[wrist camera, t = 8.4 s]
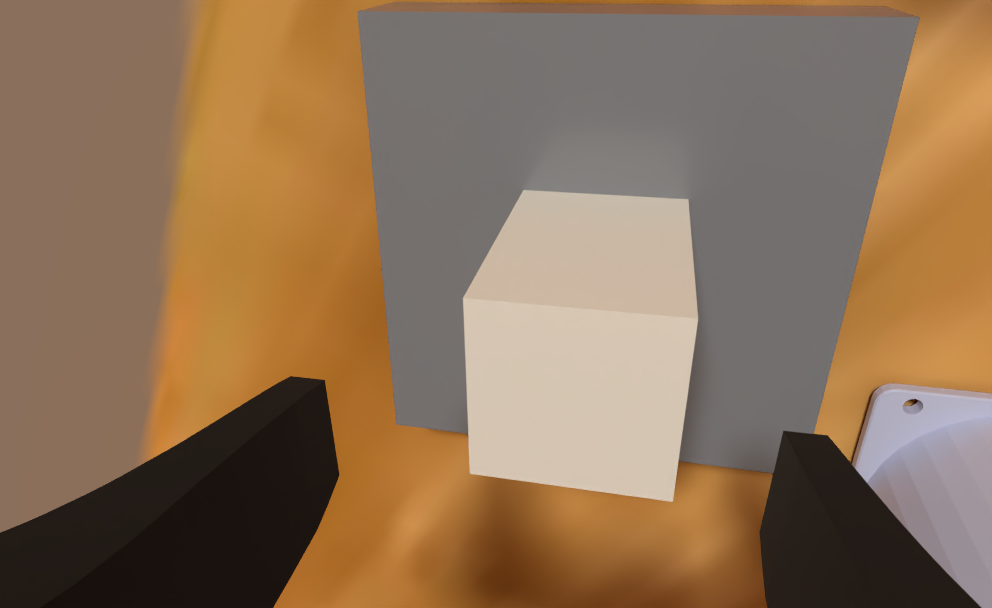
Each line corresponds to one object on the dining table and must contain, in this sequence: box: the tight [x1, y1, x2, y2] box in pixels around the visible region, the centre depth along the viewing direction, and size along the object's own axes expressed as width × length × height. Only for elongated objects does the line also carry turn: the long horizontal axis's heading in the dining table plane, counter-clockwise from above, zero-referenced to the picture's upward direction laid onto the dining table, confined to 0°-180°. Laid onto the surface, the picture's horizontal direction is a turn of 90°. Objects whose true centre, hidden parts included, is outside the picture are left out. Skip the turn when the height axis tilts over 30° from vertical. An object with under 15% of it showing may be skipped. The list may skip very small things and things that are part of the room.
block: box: [463, 190, 698, 502], centre depth 15 cm, size 4×4×6 cm
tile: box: [358, 2, 920, 473], centre depth 19 cm, size 12×12×2 cm
